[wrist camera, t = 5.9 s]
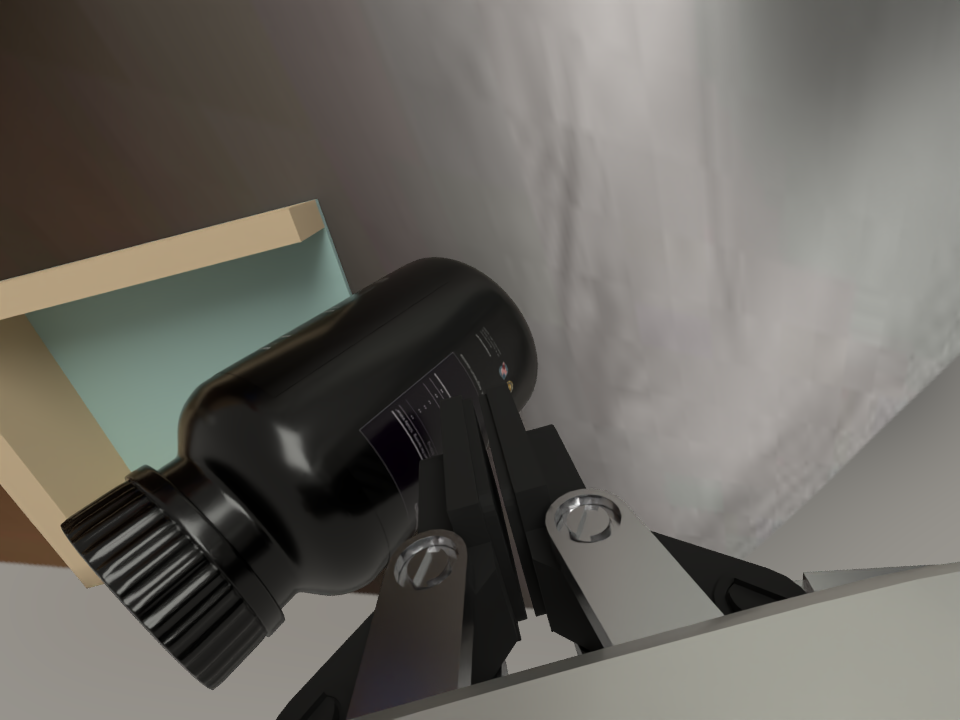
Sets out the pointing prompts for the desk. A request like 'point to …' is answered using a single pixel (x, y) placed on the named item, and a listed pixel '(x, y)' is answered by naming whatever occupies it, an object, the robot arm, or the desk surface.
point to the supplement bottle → (302, 462)
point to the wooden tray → (141, 351)
